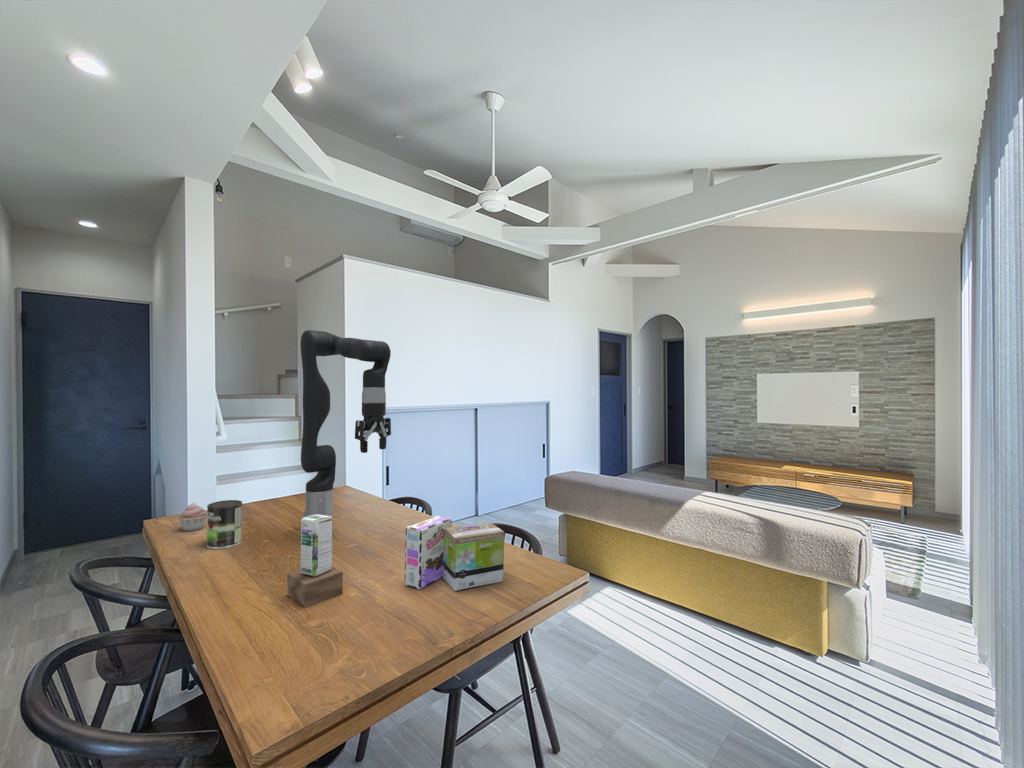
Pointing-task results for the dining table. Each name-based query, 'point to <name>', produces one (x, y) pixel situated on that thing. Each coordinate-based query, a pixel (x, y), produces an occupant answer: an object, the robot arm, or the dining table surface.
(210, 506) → the coffee can
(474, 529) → the tea box
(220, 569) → the dining table surface
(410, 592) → the dining table surface
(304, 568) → the syrup box
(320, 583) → the walnut block
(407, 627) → the dining table surface
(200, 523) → the cupcake
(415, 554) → the candy box
